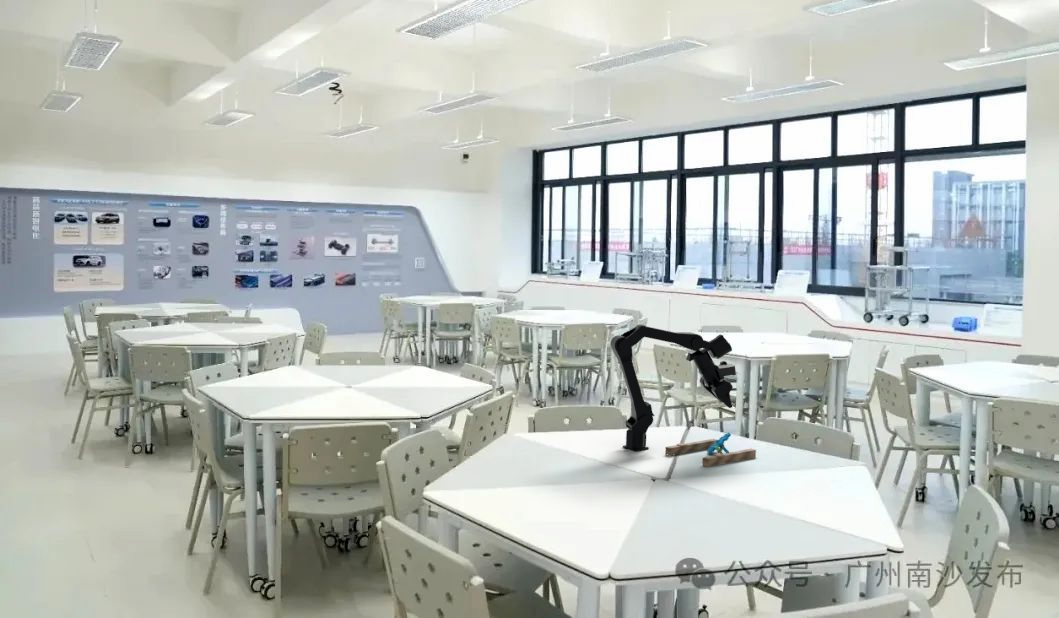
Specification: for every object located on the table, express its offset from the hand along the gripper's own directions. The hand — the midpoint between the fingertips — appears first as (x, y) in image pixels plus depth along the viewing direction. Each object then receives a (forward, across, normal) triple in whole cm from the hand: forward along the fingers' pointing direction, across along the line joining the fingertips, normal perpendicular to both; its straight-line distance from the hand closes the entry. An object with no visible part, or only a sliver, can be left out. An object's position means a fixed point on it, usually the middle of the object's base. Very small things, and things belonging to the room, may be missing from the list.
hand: (726, 404), depth 276 cm
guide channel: (+8, -11, +15) cm, 20 cm away
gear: (+11, -9, +12) cm, 18 cm away
